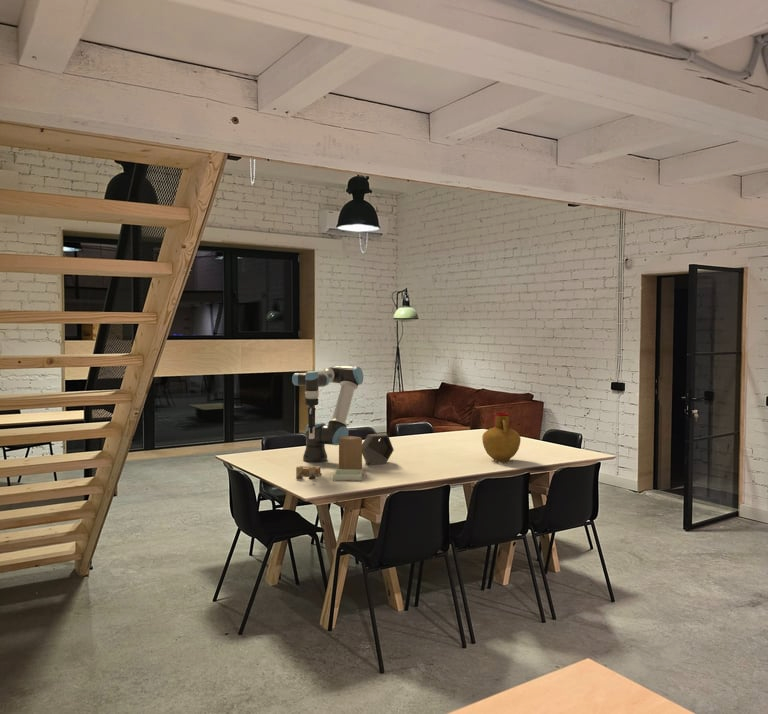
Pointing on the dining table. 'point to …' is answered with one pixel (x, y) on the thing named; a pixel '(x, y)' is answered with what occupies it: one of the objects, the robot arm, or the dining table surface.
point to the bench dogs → (300, 472)
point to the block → (350, 453)
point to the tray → (348, 474)
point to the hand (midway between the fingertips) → (311, 438)
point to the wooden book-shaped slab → (306, 470)
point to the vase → (501, 439)
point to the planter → (377, 449)
